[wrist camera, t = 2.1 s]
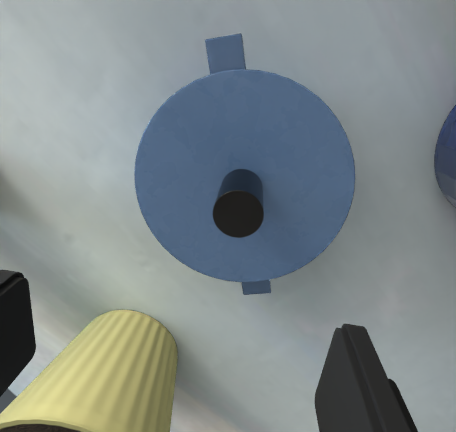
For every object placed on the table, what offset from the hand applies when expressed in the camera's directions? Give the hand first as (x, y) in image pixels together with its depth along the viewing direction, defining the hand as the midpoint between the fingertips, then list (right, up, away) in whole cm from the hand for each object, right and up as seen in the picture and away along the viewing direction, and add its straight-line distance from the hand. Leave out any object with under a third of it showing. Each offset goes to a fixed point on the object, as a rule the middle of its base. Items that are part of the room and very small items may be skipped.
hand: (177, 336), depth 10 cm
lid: (+3, +6, +15) cm, 16 cm away
